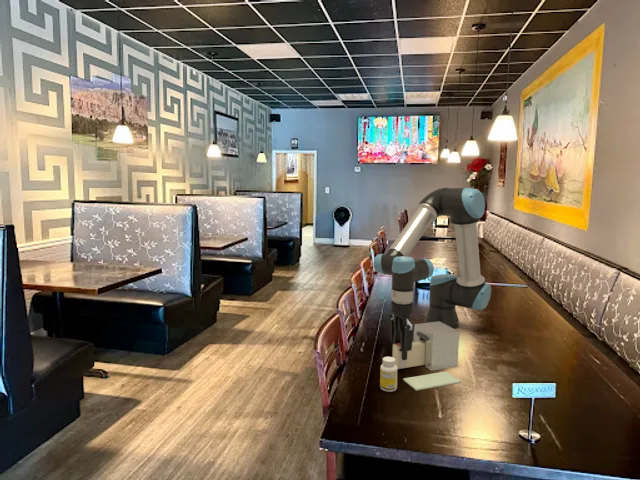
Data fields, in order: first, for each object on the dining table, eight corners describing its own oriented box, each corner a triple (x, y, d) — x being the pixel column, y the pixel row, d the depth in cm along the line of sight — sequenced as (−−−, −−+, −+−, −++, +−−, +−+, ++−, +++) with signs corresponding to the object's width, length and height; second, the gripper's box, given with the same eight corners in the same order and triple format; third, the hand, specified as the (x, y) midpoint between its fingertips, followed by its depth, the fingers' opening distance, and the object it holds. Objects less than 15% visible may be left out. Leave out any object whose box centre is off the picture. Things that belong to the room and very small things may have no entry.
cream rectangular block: (423, 360, 162) (424, 339, 161) (428, 364, 160) (429, 342, 158) (392, 365, 158) (392, 343, 157) (396, 369, 155) (397, 346, 154)
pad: (446, 372, 153) (446, 371, 153) (460, 382, 146) (460, 381, 146) (403, 379, 148) (403, 378, 148) (416, 390, 140) (416, 389, 140)
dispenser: (437, 354, 170) (439, 321, 168) (457, 366, 159) (459, 331, 157) (411, 358, 166) (412, 324, 164) (429, 371, 155) (431, 335, 153)
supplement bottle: (385, 382, 146) (386, 354, 144) (400, 387, 142) (401, 358, 141) (376, 388, 141) (377, 359, 140) (391, 393, 138) (392, 363, 137)
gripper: (381, 296, 160) (379, 358, 163) (404, 308, 145) (402, 376, 148) (399, 294, 163) (397, 355, 166) (424, 306, 148) (421, 373, 151)
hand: (399, 365), depth 157 cm, fingers closed on cream rectangular block, 3 cm apart
